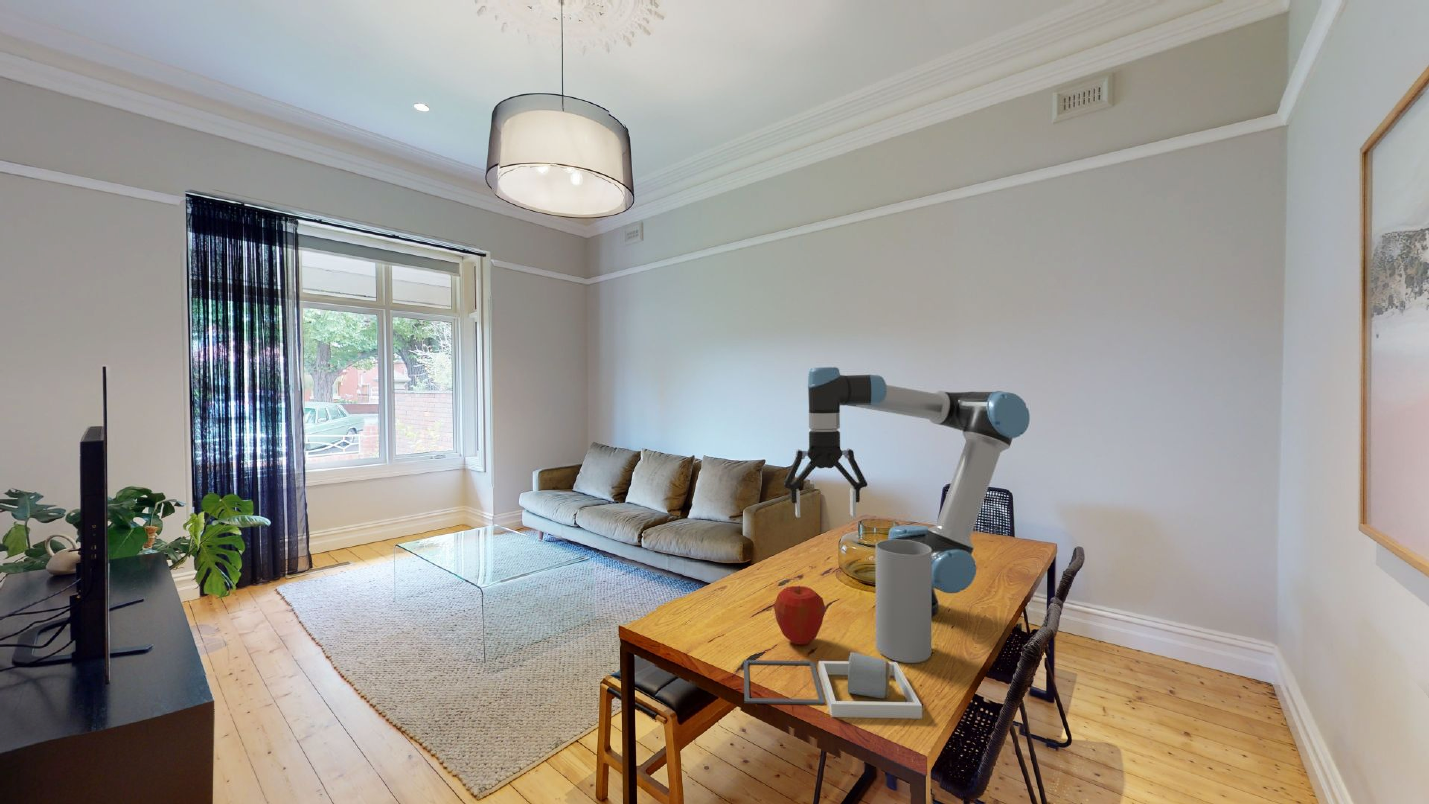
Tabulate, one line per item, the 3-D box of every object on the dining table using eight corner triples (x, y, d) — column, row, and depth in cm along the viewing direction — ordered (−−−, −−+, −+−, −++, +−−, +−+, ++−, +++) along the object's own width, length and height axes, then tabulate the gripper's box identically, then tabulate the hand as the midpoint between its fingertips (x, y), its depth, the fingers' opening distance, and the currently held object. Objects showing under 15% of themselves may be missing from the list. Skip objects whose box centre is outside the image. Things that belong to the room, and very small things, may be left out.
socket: (893, 668, 118) (893, 657, 118) (922, 718, 100) (922, 705, 100) (817, 667, 119) (817, 656, 119) (831, 717, 101) (831, 704, 101)
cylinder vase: (869, 638, 132) (869, 539, 132) (920, 639, 132) (920, 539, 131) (884, 664, 120) (884, 555, 119) (939, 665, 119) (940, 555, 119)
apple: (765, 644, 130) (765, 587, 130) (789, 626, 139) (789, 573, 139) (811, 659, 122) (810, 599, 122) (833, 639, 132) (833, 583, 132)
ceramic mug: (889, 707, 104) (889, 668, 104) (846, 700, 106) (846, 662, 106) (889, 680, 114) (889, 644, 114) (850, 674, 116) (850, 639, 116)
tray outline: (813, 662, 121) (813, 661, 121) (825, 704, 105) (825, 702, 105) (743, 661, 121) (743, 660, 121) (744, 703, 106) (744, 701, 106)
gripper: (870, 428, 134) (871, 511, 134) (772, 429, 134) (773, 512, 135) (879, 430, 126) (880, 518, 127) (775, 432, 127) (776, 520, 127)
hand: (825, 516), depth 131 cm, fingers open, 13 cm apart
